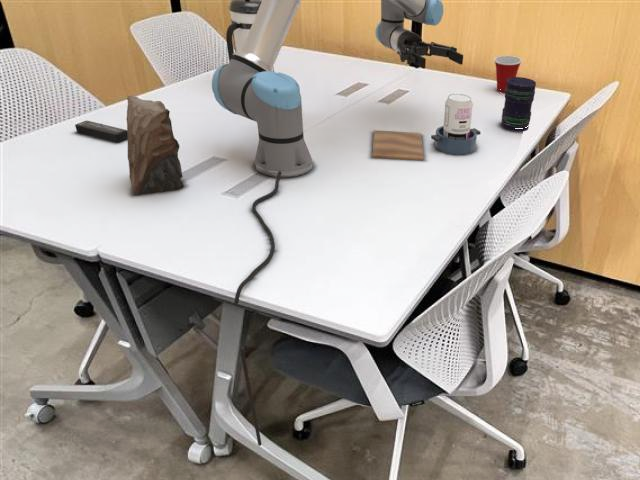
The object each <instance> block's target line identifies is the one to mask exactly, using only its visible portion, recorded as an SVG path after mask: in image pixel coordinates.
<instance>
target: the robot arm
mask: <svg viewBox="0 0 640 480" xmlns="http://www.w3.org/2000/svg"><path fill="white" fill-rule="evenodd" d="M301 2H302V0H262V3H261V5H260V7H259V10H258V12H257V14H256V17H255V19H254V22H253V24H252V26H251V29H250V31H249V33H248V36H247V38H246V41H245V43H244V45H243V48H242V50H241V51H240V52H237V53H235V52H234V53H233V55H232V57H231V59H230V62H229V61H228V63H224V64H222V65H219V66H218V67H217V68H216V69H215V71H214V72H213V75H212V78H211V89H212V93H213V96H214V99H215V101H216V102H217V103H218V105H219V106H221V107H222V108H223V109H224V110H226V111H229V112H230V113H231V114H234V115H237V116H241V117H243V118H245V119H248V120H250V121H253V122H256V126H257V132H258V143H257V146H256V147H257V148H256V152H255V157H254V163H255V169H256V170H257V171H258V172H259V173H260V174H263V175H266V176H269V177H273V178H276V179H275V186H274V189H273V190H272V191H271V192H269V193H267V194H265V195H263V196H261V197H258V198H257V199H255V200H254V201H253V203H252V205H251V210H252V212H253V214H254V215H255V216H256V218H257V219H258V221H259V222H260V224H261V225H262V227H263V228H264V229H265V231H266V232H267V234H268V237H269V240H270V251H269V254H268V255H267V257H266V258H265V259H264V261H262V262H261V263H260V264H259V265H258V266H256V267H255V268H254V269H253V270H252V271H251V273H250V274H249V275H248V276H247V277H246V278H245V279H244V280H243V281H242V282H241V283H240V284H239V285H238V287H237V289H236V292H235V296H234V302H233V303H234V305H238V304H239V302H240V297H241V293H242V290H243V288H244V287H245V286H246V285H247V284H248V283H249V282H250V281H251V280H252V279H253V278H254V276H256V274H257V273H259V271H260V270H261V269H263V268H264V267H265V266H266V265H267V264H268V263H269V262H270V261H271V259H272V258H273V256H274V254H275V248H276V243H275V238H274V235H273V233H272V231H271V229H270V228H269V226H268V225H267V223H265V221H264V219H263V217H262V216H261V214H260V213H259V212H258V211H257V209H256V206H257V204H259V203H260V202H262V201H264V200H266V199H268V198H270V197H272V196H273V195H275V194H276V193H277V192H278V190H279V185H280V180H281V178H294V177H299V176H303V175H305V174H307V173H308V172H311V170H312V169H313V158H312V155H311V153H310V150H309V147H308V145H307V143H306V140H305V137H304V136H305V135H304V122H303V120H304V119H303V104H302V94H301V89H300V84H299V82H298V81H297V80H296V79H295V78H294V77H292V76H290V75H288V74H286V73H283V72H275V71H274V72H273V71H272V68H273V67H274V66H275V63H276V61H277V59H278V56H279V54H280V52H281V49H282V48H283V45H284V42H285V40H286V38H287V35H288V33H289V31H290V28H291V26H292V24H293V21H294V19H295V16H296V14H297V12H298V9H299V7H300V5H301ZM443 15H444V5H443V2H442V1H441V0H380V21H379V22H378V23H377V25H376V28H375V39H376V40H377V41H378V42H379V43H380V44H381V45H382V46H384V47H385V48H388V49H390V50H392V51H394V52H396V54H397V55H398V56H399V60H400V62H401V63H405V62H406V65H412V64H413V65H416V66H417V67H419V68H421V69H426V64H427V63H426V62H427V58H425V57H432V56H437V57H442V58H448V60H450V61H452V62H454V63H456V64H458V65H460V66H461V65H464V54H462V53H461V52H459V51H458V48H457V47H454V46H449V45H444V44H441V43H437V42H435V41H431V42H430V43H429V42H425V41H423V39H422V37H421V36H420V35H419V34H418V33H415V32H413V31H412V30H410V29H407V28H406V27H404V26H405V20H408V21H413V22H417V23H420V24H424V25H426V26H438V25H439V24H440V23H441V21H442V19H443ZM424 56H425V57H424ZM240 357H241V363H242V364H241V365H242V368H243V374H244V381H245V384H246V391H247V395H248V401H249V406H250V410H251V415H252V419H253V425H254V430H255V435H256V440H257V445H258V446H259V447H260V446H262V445H263V444H262V439H261V433H260V427H259V422H258V418H257V412H256V408H255V407H256V406H255V402H254V401H255V400H254V397H253V392H252V387H251V381H250V376H249V370H248V365H247V364H248V363H247V358H246V351H245V349H243V348H242V349H240Z"/></svg>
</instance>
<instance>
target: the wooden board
mask: <svg viewBox="0 0 640 480" xmlns="http://www.w3.org/2000/svg"><path fill="white" fill-rule="evenodd" d="M372 141H373V143H372V155H371V157H372V159H373V158H374V159H388V160H390V159H391V160H407V161H408V160H410V161H424V150H423V140H422V132H411V131H410V132H409V131H396V130H393V131H392V130H377V129H376V130H373V140H372Z"/></svg>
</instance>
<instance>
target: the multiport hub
mask: <svg viewBox="0 0 640 480" xmlns="http://www.w3.org/2000/svg"><path fill="white" fill-rule="evenodd" d="M74 127H75V129H76V132H77V134H80V135H85V136H88V137H93V138H97V139H101V140H104V141H108V142H113V143H117V144H120V143H122V142H124V141H125V140H126V141H127V140H128V135H127V129H124V128H121V127H120V128H119V127H115V126H111V125H109V124H108V125H107V124H103V123H99V122H95V121H91V120H84V121H81V122H79V123H75V124H74Z"/></svg>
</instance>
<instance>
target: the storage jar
mask: <svg viewBox="0 0 640 480" xmlns="http://www.w3.org/2000/svg"><path fill="white" fill-rule="evenodd" d="M536 86H537V82H536V81H535V80H533V79H530V78H527V77H522V76H521V77H520V76H516V77H511V78H508V79H507V85H506V90H505V93H504V98H505V99H504V105H503V108H502V110H501V111H502V112H501V122H500V127H501V128H502V129H504V130H507V131H510V132H516V133H522V132H527V131H528V130H529V127H530V126H529V125H530V122H531V116H532V105H533V101H534V100H535V94H536ZM527 126H528V127H527ZM525 127H527V128H525ZM515 128H523V129H515Z"/></svg>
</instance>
